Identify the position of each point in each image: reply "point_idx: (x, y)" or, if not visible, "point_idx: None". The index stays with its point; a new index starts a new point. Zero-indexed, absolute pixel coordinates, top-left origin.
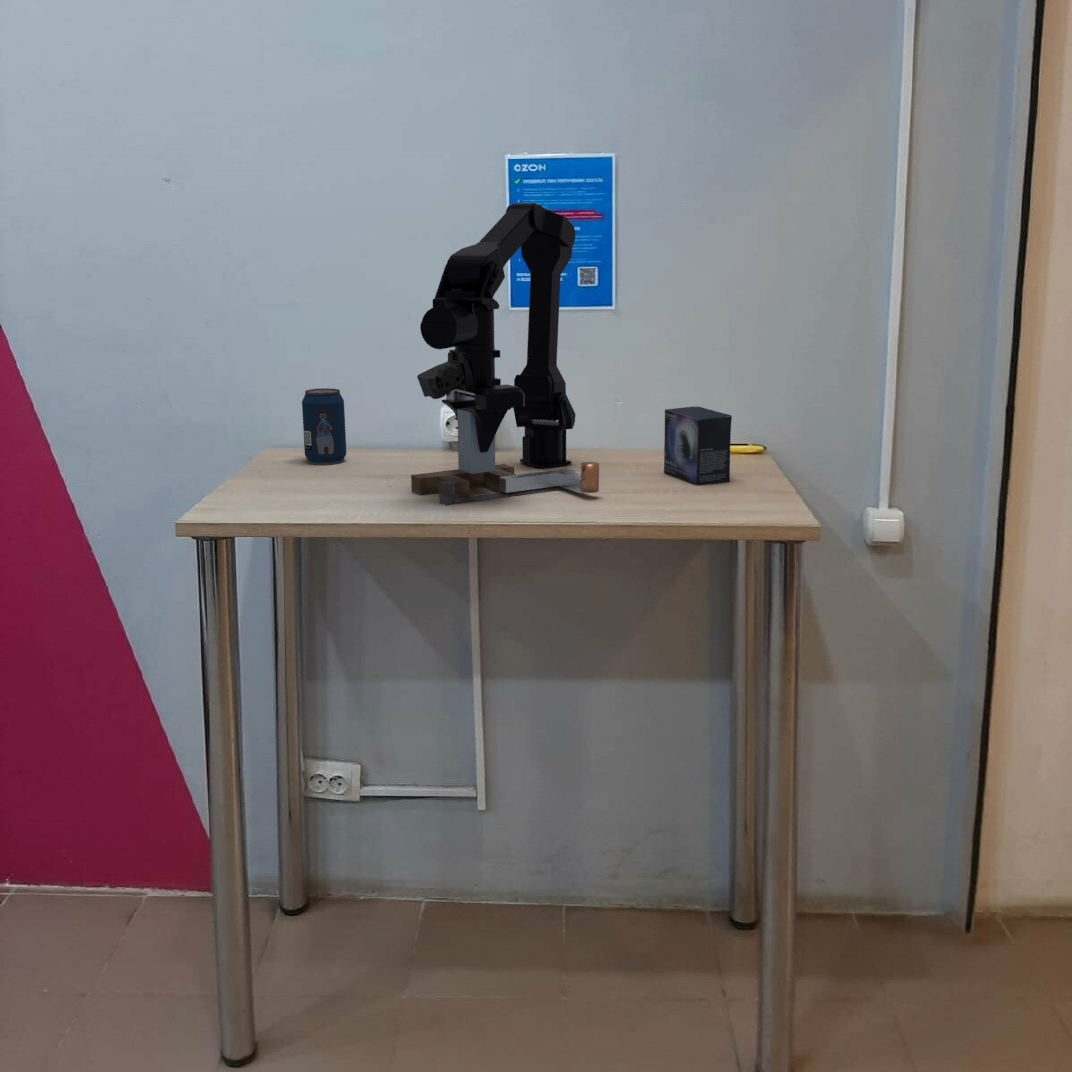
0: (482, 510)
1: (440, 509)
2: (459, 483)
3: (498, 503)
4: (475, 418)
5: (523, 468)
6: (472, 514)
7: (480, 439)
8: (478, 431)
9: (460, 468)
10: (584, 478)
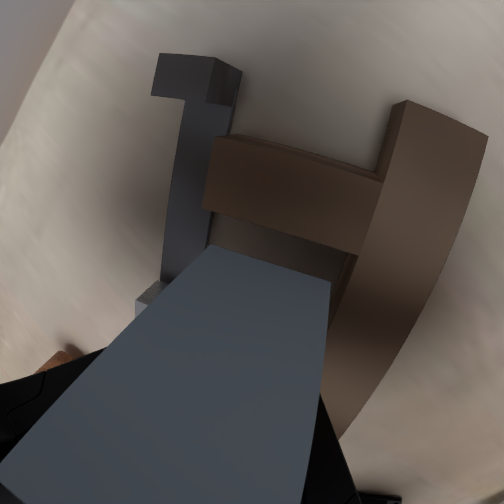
0: (88, 117)
1: (168, 26)
2: (212, 163)
3: (118, 203)
4: (8, 436)
5: (369, 482)
6: (77, 72)
7: (90, 354)
8: (63, 381)
9: (311, 278)
10: (45, 367)
